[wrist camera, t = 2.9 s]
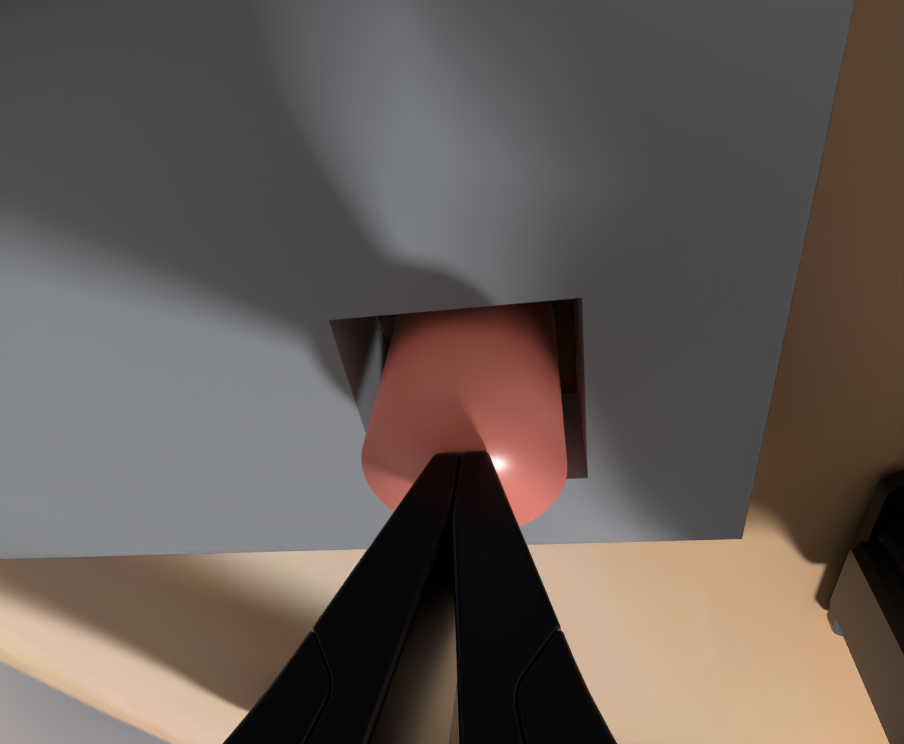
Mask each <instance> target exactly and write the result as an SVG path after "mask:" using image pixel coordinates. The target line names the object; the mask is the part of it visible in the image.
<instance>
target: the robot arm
mask: <svg viewBox="0 0 904 744" xmlns="http://www.w3.org/2000/svg"><path fill="white" fill-rule="evenodd" d="M827 619H828V621H829V624H830V626H831V628H832V631H833V632H834V633H835V634H837V635H840V636H843V637H844V639H845V641H846V644H847V646H848V648H849V651H850V653H851V655H852V658H853V660H854V662H855V665H856V667H857V669H858V671H859V674H860V676H861V678H862V681H863V683H864V685H865V688H866V690H867V692H868V695H869V697H870V699H871V702H872V704H873V706H874V708H875V711H876V713H877V715H878V718H879V720H880V722H881V725H882V727H883V729H884V732H885V734H886V736H887V738H888V741H889V743H890V744H904V470H902V471H897V472H894V473H892V474H889V475H887V476H886V477H884V478H883V479H882V480H881V481H880V482H879V484H878V485H877V487H876V490H875V492H874V495H873V498H872V500H871V503H870V505H869V508H868V510H867V513H866V516H865V518H864V521H863V523H862V526H861V528H860V531H859V533H858V536H857V539H856V541H855V544H854V545H853V547H852V548H851V549H850V551H849V553H848V556H847V558H846V561H845V563H844V566H843V569H842V571H841V574H840V576H839V579H838V582H837V584H836V587H835V589H834V592H833V594H832V597H831V600H830V608H829V610H828V613H827ZM313 631H314V632H309V633H308V635H307V636H306V637H305V639H304V640H303V642H302V643H301V645H300V646H299V648H298V649H297V650H296V652H295V653H294V655H293V656H292V657H291V659H290V660H289V661H288V663H287V664H286V665H285V667H284V668H283V670H282V671H281V672H280V674H279V675H278V676H277V678H276V679H275V680H274V682H273V683H272V684H271V686H270V687H269V688H268V690H267V691H266V692H265V693H264V695H263V696H262V697H261V698H260V699H259V701H258V702H257V703H256V704H255V706H254V707H253V708H252V709H251V710H250V712H249V713H248V714H247V715H246V717H245V718H244V719H243V720H242V721H241V723H240V724H239V725H238V726H237V727H236V729H235V730H234V731H233V732H232V733H231V734H230V736H229V737H228V738H227V739H226V740H225V741H224V743H223V744H449V740H450V732H451V724H452V717H453V709H454V702H455V694H456V686H457V689H458V716H459V744H617V742H616V741H615V739H614V737H613V735H612V734H611V732H610V730H609V728H608V726H607V724H606V722H605V721H604V719H603V717H602V715H601V713H600V711H599V709H598V708H597V706H596V704H595V702H594V700H593V698H592V696H591V694H590V692H589V690H588V688H587V686H586V684H585V682H584V679H583V677H582V675H581V673H580V670H579V668H578V666H577V664H576V662H575V659H574V657H573V655H572V653H571V650H570V648H569V645H568V643H567V640H566V638H565V635H564V633H563V632H562V631H561V627H560V624H559V622H558V619H557V617H556V614H555V612H554V610H553V607H552V605H551V602H550V600H549V597H548V595H547V593H546V590H545V588H544V585H543V583H542V580H541V578H540V576H539V573H538V571H537V568H536V566H535V564H534V561H533V559H532V556H531V554H530V551H529V549H528V547H527V544H526V542H525V539H524V537H523V535H522V532H521V530H520V527H519V525H518V522H517V520H516V518H515V515H514V513H513V510H512V508H511V505H510V503H509V501H508V498H507V496H506V493H505V491H504V489H503V486H502V484H501V481H500V479H499V476H498V474H497V472H496V469H495V467H494V464H493V462H492V460H491V457H490V455H489V453H488V452H487V451H466V452H464V453H463V454H462V455H461V454H460V453H458V452H446V453H436V454H435V455H433V457H432V458H431V459H430V461H429V462H428V464H427V465H426V466H425V468H424V469H423V471H422V472H421V474H420V475H419V476H418V478H417V479H416V481H415V482H414V484H413V485H412V486H411V488H410V489H409V491H408V492H407V494H406V495H405V496H404V498H403V499H402V501H401V502H400V504H399V505H398V506H397V508H396V509H395V511H394V512H393V514H392V515H391V516H390V518H389V519H388V521H387V522H386V524H385V525H384V526H383V528H382V529H381V531H380V532H379V534H378V535H377V536H376V538H375V539H374V541H373V542H372V544H371V545H370V546H369V548H368V549H367V551H366V552H365V554H364V555H363V556H362V558H361V559H360V561H359V562H358V564H357V565H356V566H355V568H354V569H353V571H352V572H351V574H350V575H349V576H348V578H347V579H346V581H345V582H344V584H343V585H342V586H341V588H340V589H339V591H338V592H337V594H336V595H335V596H334V598H333V599H332V601H331V602H330V604H329V605H328V606H327V608H326V609H325V611H324V612H323V614H322V615H321V616H320V618H319V619H318V621H317V622H316V624H315V625H314V626H313Z"/></svg>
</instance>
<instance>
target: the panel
mask: <svg viewBox="0 0 904 744" xmlns="http://www.w3.org/2000/svg"><path fill="white" fill-rule="evenodd" d="M854 2H855V0H0V559H19V558H56V557H93V556H130V555H166V554H203V553H240V552H277V551H314V550H351V549H368V548H369V546H370V545H371V544H372V542H373V541H374V539H375V538H376V536H377V535H378V534H379V532H380V531H381V529H382V528H383V526H384V525H385V524H386V522H387V521H388V519H389V518H390V516H391V515H392V514H393V512H394V511H392V510H391V509H390V508H388V507H387V506H386V505H385V504H384V503H383V502H382V501H381V500H380V499H379V498H378V497H377V496H376V495H375V494H374V492H373V491H372V489H371V488H370V486H369V485H368V483H367V480H366V478H365V476H364V473H363V469H362V461H361V454H362V447H363V443H364V440H365V436H366V432H367V428H368V425H369V421H370V417H371V414H372V410H373V406H374V402H375V399H376V395H377V391H378V388H379V384H380V380H381V376H382V373H383V369H384V365H385V362H386V358H387V354H388V353H387V349H386V345H385V342H384V338H383V334H382V331H381V327H380V323H379V320H378V316H381V315H393V314H404V313H415V312H427V311H438V310H449V309H461V308H472V307H483V306H495V305H506V304H517V303H529V302H540V301H551V300H563V299H574V318H575V343H576V367H577V392H578V393H566V394H561V399H562V411H563V422H564V433H565V445H566V456H567V477H566V482H565V485H564V487H563V490H562V492H561V494H560V495H559V497H558V498H557V500H556V501H555V502H554V503H553V504H552V506H551V507H550V508H549V509H547V510H546V511H545V512H544V513H543V514H541V515H540V516H538V517H537V518H535V519H534V520H532V521H530V522H528V523H526V524H524V525H521V526H519V527H520V530H521V532H522V535H523V537H524V539H525V542H526V544H527V545H535V544H572V543H608V542H645V541H682V540H719V539H742V536H743V531H744V526H745V521H746V517H747V512H748V507H749V502H750V498H751V493H752V488H753V483H754V479H755V474H756V469H757V464H758V459H759V455H760V450H761V445H762V440H763V436H764V431H765V426H766V421H767V417H768V412H769V407H770V402H771V398H772V393H773V388H774V383H775V378H776V374H777V369H778V364H779V359H780V355H781V350H782V345H783V340H784V336H785V331H786V326H787V321H788V316H789V312H790V307H791V302H792V297H793V293H794V288H795V283H796V278H797V274H798V269H799V264H800V259H801V255H802V250H803V245H804V240H805V235H806V231H807V226H808V221H809V216H810V212H811V207H812V202H813V197H814V193H815V188H816V183H817V178H818V174H819V169H820V164H821V159H822V154H823V150H824V145H825V140H826V135H827V131H828V126H829V121H830V116H831V112H832V107H833V102H834V97H835V93H836V88H837V83H838V78H839V73H840V69H841V64H842V59H843V54H844V50H845V45H846V40H847V35H848V31H849V26H850V21H851V16H852V11H853V7H854Z"/></svg>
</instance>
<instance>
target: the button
mask: <svg viewBox="0 0 904 744" xmlns="http://www.w3.org/2000/svg"><path fill="white" fill-rule="evenodd" d="M466 451H487V452H488V453H489V455H490V457H491V460H492V462H493V464H494V467H495V469H496V472H497V474H498V476H499V479H500V481H501V484H502V486H503V489H504V491H505V493H506V496H507V498H508V501H509V503H510V505H511V508H512V510H513V513H514V515H515V518H516V520H517V522H518V525H519V526H521V525H524V524H526V523H528V522H530V521H532V520H534V519H535V518H537V517H538V516H540V515H541V514H543V513H544V512H545V511H546V510H547V509H549V508H550V507H551V506H552V504H553V503H554V502H555V501H556V500H557V498H558V497H559V495H560V494H561V492H562V490H563V487H564V485H565V482H566V477H567V456H566V445H565V433H564V422H563V411H562V399H561V388H560V377H559V365H558V354H557V343H556V331H555V320H554V313H553V309H552V305H551V302H550V301H540V302H529V303H517V304H506V305H495V306H483V307H472V308H461V309H449V310H438V311H427V312H415V313H404V314H398V317H397V321H396V324H395V328H394V332H393V336H392V339H391V343H390V347H389V350H388V354H387V358H386V362H385V365H384V369H383V373H382V376H381V380H380V384H379V388H378V391H377V395H376V399H375V402H374V406H373V410H372V414H371V417H370V421H369V425H368V428H367V432H366V436H365V440H364V443H363V447H362V454H361V461H362V469H363V473H364V476H365V478H366V480H367V483H368V485H369V486H370V488H371V489H372V491H373V492H374V494H375V495H376V496H377V497H378V498H379V499H380V500H381V501H382V502H383V503H384V504H385V505H386V506H387V507H388V508H390V509H391V510H392V511H395V509H396V508H397V506H398V505H399V504H400V502H401V501H402V499H403V498H404V496H405V495H406V494H407V492H408V491H409V489H410V488H411V486H412V485H413V484H414V482H415V481H416V479H417V478H418V476H419V475H420V474H421V472H422V471H423V469H424V468H425V466H426V465H427V464H428V462H429V461H430V459H431V458H432V457H433V455H435V454H436V453H446V452H458V453H460V454H461V455H462V454H463V453H464V452H466Z"/></svg>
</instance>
